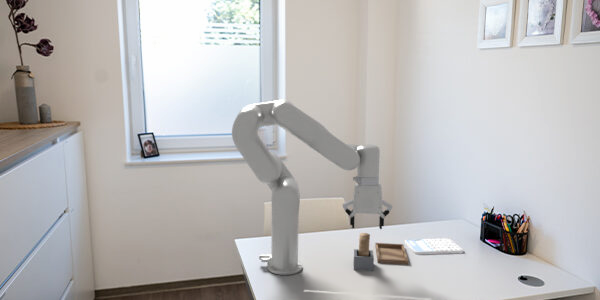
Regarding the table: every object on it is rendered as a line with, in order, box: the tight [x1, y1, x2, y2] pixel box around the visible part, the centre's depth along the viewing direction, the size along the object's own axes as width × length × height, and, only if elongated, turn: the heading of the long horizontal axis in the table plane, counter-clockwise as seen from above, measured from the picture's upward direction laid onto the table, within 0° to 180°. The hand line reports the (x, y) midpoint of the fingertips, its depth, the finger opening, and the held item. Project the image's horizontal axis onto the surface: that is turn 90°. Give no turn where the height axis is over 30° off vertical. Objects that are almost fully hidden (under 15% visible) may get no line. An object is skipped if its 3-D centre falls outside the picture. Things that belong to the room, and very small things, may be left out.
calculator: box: [404, 237, 464, 255], centre depth 188 cm, size 13×20×2 cm, turn 97°
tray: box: [374, 242, 409, 266], centre depth 177 cm, size 16×11×2 cm
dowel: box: [358, 232, 371, 257], centre depth 166 cm, size 4×4×12 cm
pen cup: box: [353, 248, 375, 272], centre depth 166 cm, size 7×7×6 cm
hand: (366, 227), depth 164 cm, fingers open, 9 cm apart
